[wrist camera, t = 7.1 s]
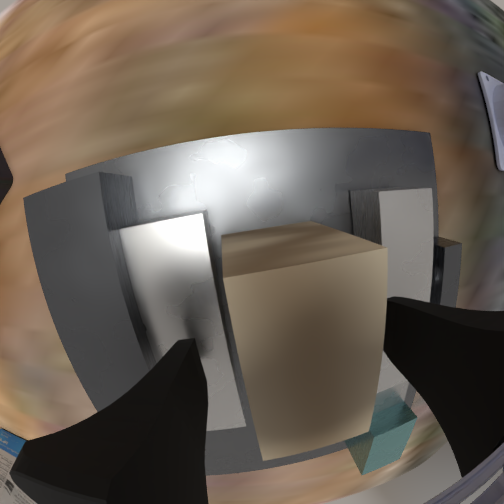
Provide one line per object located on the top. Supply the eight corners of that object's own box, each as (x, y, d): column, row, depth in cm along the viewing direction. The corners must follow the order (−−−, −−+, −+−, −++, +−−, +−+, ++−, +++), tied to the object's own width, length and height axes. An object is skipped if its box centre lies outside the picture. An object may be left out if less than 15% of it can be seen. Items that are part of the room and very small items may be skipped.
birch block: (311, 220, 12) (387, 247, 6) (320, 352, 14) (368, 431, 8) (221, 235, 12) (222, 277, 6) (246, 368, 13) (263, 460, 7)
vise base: (426, 133, 12) (473, 125, 8) (403, 421, 17) (424, 449, 13) (68, 174, 10) (21, 171, 7) (179, 473, 15) (177, 510, 12)
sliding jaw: (399, 186, 12) (450, 189, 8) (379, 427, 16) (399, 458, 12) (349, 190, 12) (396, 192, 8) (344, 440, 16) (361, 475, 12)
